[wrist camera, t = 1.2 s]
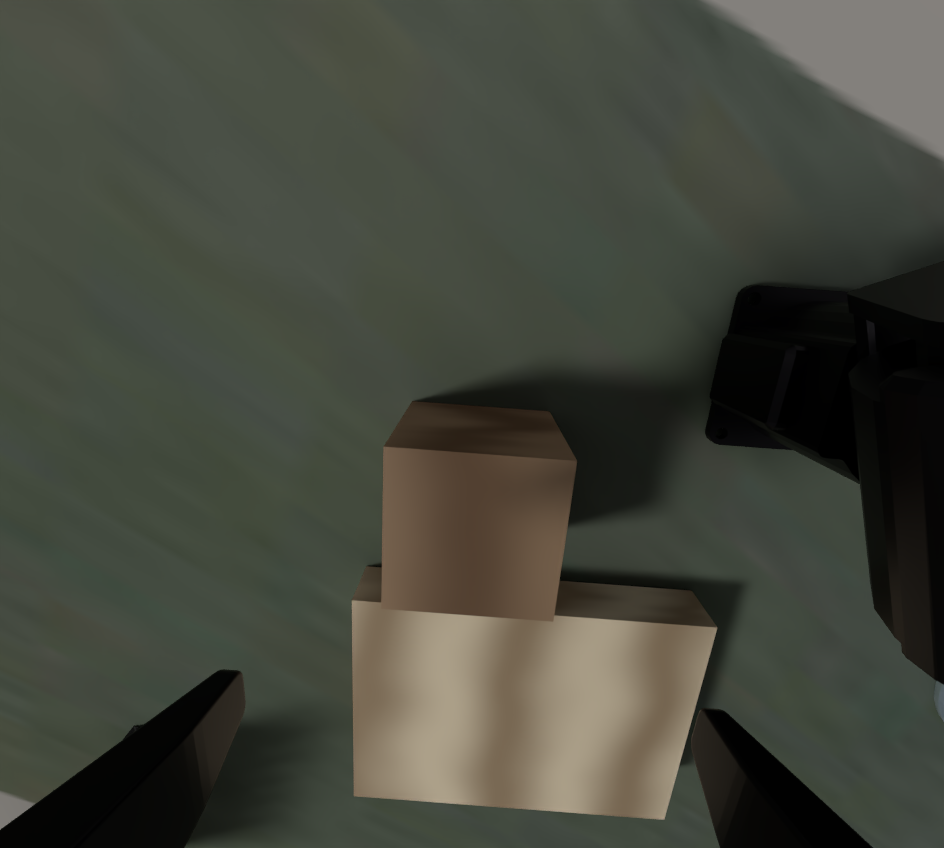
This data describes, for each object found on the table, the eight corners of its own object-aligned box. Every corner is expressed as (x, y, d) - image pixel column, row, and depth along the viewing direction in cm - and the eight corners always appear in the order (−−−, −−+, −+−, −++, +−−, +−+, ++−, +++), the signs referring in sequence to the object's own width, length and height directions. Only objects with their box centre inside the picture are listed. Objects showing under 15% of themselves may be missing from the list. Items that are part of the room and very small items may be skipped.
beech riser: (691, 590, 22) (717, 627, 19) (647, 769, 25) (664, 819, 23) (366, 566, 22) (351, 600, 19) (366, 748, 25) (353, 796, 23)
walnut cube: (549, 410, 19) (577, 460, 14) (533, 532, 21) (553, 621, 15) (412, 400, 19) (383, 446, 14) (408, 522, 21) (381, 608, 15)
